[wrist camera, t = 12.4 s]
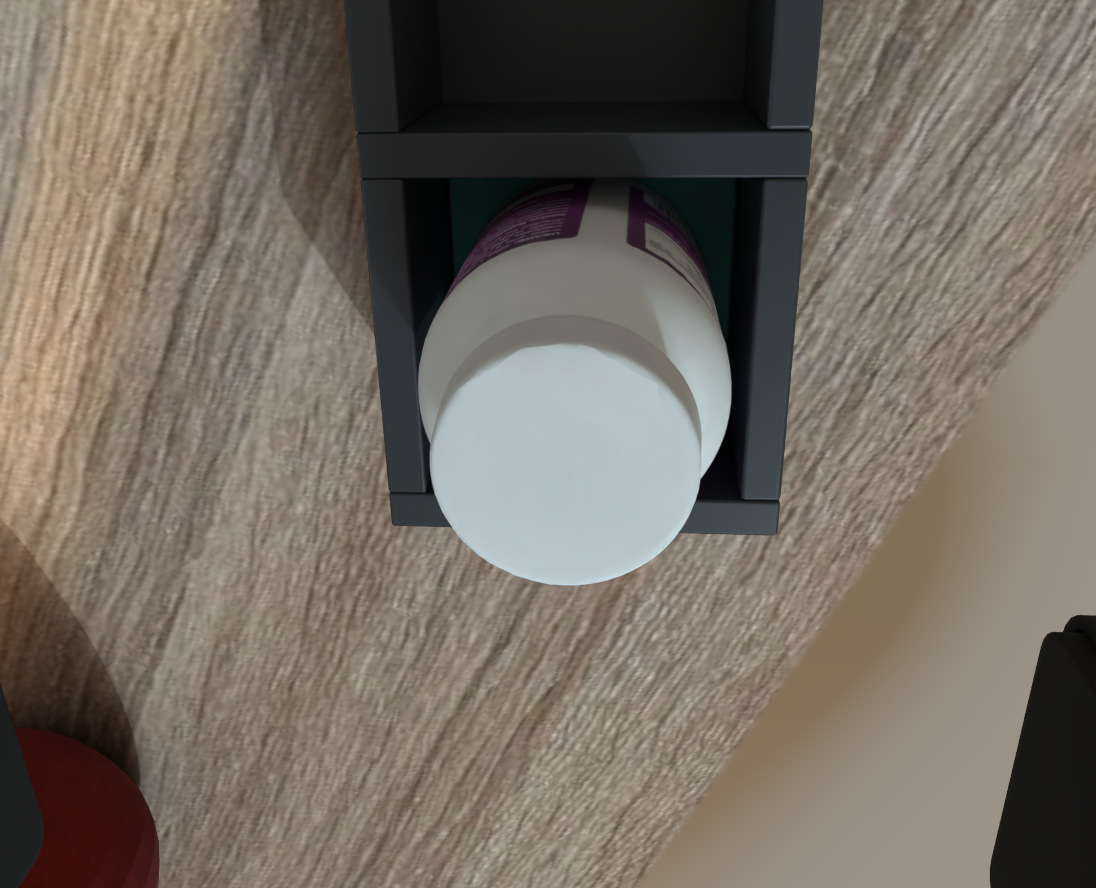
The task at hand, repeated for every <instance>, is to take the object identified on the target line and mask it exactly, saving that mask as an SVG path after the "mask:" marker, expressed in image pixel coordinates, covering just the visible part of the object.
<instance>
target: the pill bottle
mask: <svg viewBox="0 0 1096 888" xmlns="http://www.w3.org/2000/svg"><path fill="white" fill-rule="evenodd" d="M731 386H732V384H731V372H730V364H729V357H728V353H727V348H726V343H725V340H724V338H723V335H722V331H721V328H720V324H719V320H718V315H717V311H716V307H715V303H714V300H713V296H712V291H711V288H710V284H709V279H708V275H707V272H706V267H705V263H704V260H703V257H702V253H701V251H700V249H699V246H698V244H697V242H696V240H695V237H694V236H693V234H692V232H691V230H690V228H689V227H688V225H687V224H686V223H685V221H684V220H683V218H682V217H681V216H680V215H679V213H678V212H677V211H676V210H675V209H674V208H673V207H672V206H671V205H670V204H669V203H668V202H667V201H666V200H665V199H664V198H662V197H661V196H660V195H659V194H657V193H656V192H655V191H653V190H652V189H650V188H648V187H646V186H645V185H643V184H641V183H639V182H637V181H635V180H633V179H631V178H542V179H540V180H538V181H536V182H533V183H531V184H529V185H528V186H526V187H525V188H523V189H522V190H520V191H518V192H517V193H516V194H514V195H513V196H512V197H511V198H509V199H508V200H507V201H506V202H505V203H504V204H503V205H502V206H501V207H500V208H499V209H498V210H497V211H496V213H495V214H494V215H493V216H492V218H491V219H490V220H489V222H488V223H487V225H486V226H485V227H484V229H483V230H482V232H481V234H480V235H479V237H478V239H477V241H476V242H475V244H474V246H473V248H472V250H471V251H470V253H469V254H468V256H467V258H466V260H465V261H464V263H463V265H462V267H461V269H460V271H459V273H458V274H457V276H456V278H455V280H454V282H453V283H452V285H451V287H450V289H449V290H448V293H447V295H446V297H445V298H444V301H443V303H442V304H441V305H440V306H439V308H438V310H437V313H436V315H435V317H434V319H433V321H432V323H431V325H430V328H429V331H428V334H427V336H426V339H425V342H424V346H423V350H422V355H421V360H420V364H419V377H418V395H419V405H420V412H421V417H422V421H423V424H424V428H425V431H426V434H427V437H428V439H429V442H430V474H431V480H432V485H433V489H434V493H435V496H436V498H437V501H438V503H439V505H440V508H441V510H442V512H443V514H444V516H445V517H446V519H447V520H448V522H449V523H450V525H451V527H452V528H453V530H454V531H455V533H456V534H457V535H458V536H459V537H460V538H461V539H462V541H463V542H465V543H466V544H467V545H468V546H469V547H470V548H471V549H472V550H473V551H474V552H476V553H477V554H478V555H479V556H481V557H482V558H484V559H485V560H486V561H488V562H489V563H491V564H493V565H495V566H497V567H498V568H501V569H503V570H505V571H507V572H509V573H511V574H513V575H516V576H519V577H522V578H526V579H529V580H532V581H536V582H541V583H545V584H553V585H582V584H592V583H597V582H602V581H606V580H609V579H612V578H615V577H618V576H622V575H624V574H626V573H628V572H630V571H632V570H634V569H636V568H638V567H640V566H642V565H643V564H645V563H647V562H648V561H650V560H651V559H653V558H654V557H655V556H657V555H658V554H659V553H660V552H661V551H662V550H663V549H664V548H665V547H667V546H668V545H669V543H670V542H671V541H672V540H673V539H674V538H675V537H676V535H677V534H678V533H679V531H680V530H681V528H682V527H683V525H684V524H685V522H686V520H687V519H688V517H689V515H690V513H691V510H692V508H693V505H694V503H695V500H696V497H697V494H698V491H699V485H700V479H701V478H702V476H703V475H704V474H705V472H706V471H707V469H708V468H709V466H710V465H711V463H712V461H713V460H714V458H715V456H716V454H717V452H718V450H719V447H720V445H721V442H722V440H723V437H724V435H725V431H726V427H727V423H728V419H729V414H730V406H731Z"/></svg>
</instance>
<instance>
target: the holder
mask: <svg viewBox="0 0 1096 888" xmlns="http://www.w3.org/2000/svg"><path fill="white" fill-rule="evenodd" d="M823 1H824V0H344V7H345V18H346V29H347V40H348V51H349V62H350V73H351V84H352V95H353V106H354V116H355V127H356V131H357V132H358V134H357V136H356V138H357V149H358V160H359V171H360V177H361V178H363V179H362V180H361V191H362V202H363V213H364V224H365V234H366V245H367V256H368V267H369V278H370V289H371V300H372V311H373V322H374V333H375V344H376V355H377V365H378V376H379V387H380V398H381V409H382V420H383V431H384V442H385V453H386V464H387V475H388V486H389V490H390V491H391V492H390V494H389V497H390V507H391V518H392V524H393V525H394V526H426V527H451V525H450V523H449V522H448V520H447V519H446V517H445V516H444V514H443V512H442V510H441V508H440V505H439V503H438V501H437V498H436V496H435V493H434V489H433V485H432V480H431V474H430V442H429V439H428V437H427V434H426V431H425V428H424V424H423V421H422V417H421V412H420V405H419V395H418V377H419V364H420V360H421V355H422V350H423V346H424V342H425V339H426V336H427V334H428V331H429V328H430V325H431V323H432V321H433V319H434V317H435V315H436V313H437V310H438V308H439V306H440V305H441V304H442V303H443V301H444V298H445V297H446V295H447V293H448V290H449V289H450V287H451V285H452V283H453V282H454V280H455V278H456V276H457V274H458V273H459V271H460V269H461V267H462V265H463V263H464V261H465V260H466V258H467V256H468V254H469V253H470V251H471V250H472V248H473V246H474V244H475V242H476V241H477V239H478V237H479V235H480V234H481V232H482V230H483V229H484V227H485V226H486V225H487V223H488V222H489V220H490V219H491V218H492V216H493V215H494V214H495V213H496V211H497V210H498V209H499V208H500V207H501V206H502V205H503V204H504V203H505V202H506V201H507V200H508V199H509V198H511V197H512V196H513V195H514V194H516V193H517V192H518V191H520V190H522V189H523V188H525V187H526V186H528V185H529V184H531V183H533V182H536V181H538V180H540V179H542V178H631V179H633V180H635V181H637V182H639V183H641V184H643V185H645V186H646V187H648V188H650V189H652V190H653V191H655V192H656V193H657V194H659V195H660V196H661V197H662V198H664V199H665V200H666V201H667V202H668V203H669V204H670V205H671V206H672V207H673V208H674V209H675V210H676V211H677V212H678V213H679V215H680V216H681V217H682V218H683V220H684V221H685V223H686V224H687V225H688V227H689V228H690V230H691V232H692V234H693V236H694V237H695V240H696V242H697V244H698V246H699V249H700V251H701V253H702V257H703V260H704V263H705V267H706V272H707V275H708V279H709V284H710V288H711V291H712V296H713V300H714V303H715V307H716V311H717V315H718V320H719V324H720V328H721V331H722V335H723V338H724V340H725V343H726V348H727V353H728V357H729V364H730V372H731V384H732V386H731V406H730V414H729V419H728V423H727V427H726V431H725V435H724V437H723V440H722V442H721V445H720V447H719V450H718V452H717V454H716V456H715V458H714V460H713V461H712V463H711V465H710V466H709V468H708V469H707V471H706V472H705V474H704V475H703V476H702V478H701V479H700V485H699V491H698V494H697V497H696V500H695V503H694V505H693V508H692V510H691V513H690V515H689V517H688V519H687V520H686V522H685V524H684V525H683V527H682V528H681V530H680V531H679V533H699V534H738V535H776V534H777V532H778V520H779V509H780V502H779V498H780V495H781V484H782V472H783V461H784V450H785V438H786V427H787V415H788V404H789V392H790V381H791V369H792V358H793V346H794V335H795V323H796V312H797V300H798V289H799V277H800V266H801V254H802V243H803V232H804V220H805V209H806V197H807V186H808V182H807V179H806V177H808V175H809V166H810V155H811V143H812V131H811V130H810V128H811V127H812V124H813V116H814V104H815V93H816V81H817V70H818V58H819V47H820V35H821V24H822V12H823Z"/></svg>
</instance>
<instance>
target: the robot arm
mask: <svg viewBox="0 0 1096 888" xmlns="http://www.w3.org/2000/svg"><path fill="white" fill-rule="evenodd" d="M43 834H44V824H43V819H42V815H41V812H40V809H39V805H38V802H37V799H36V796H35V793H34V789H33V786H32V783H31V780H30V777H29V774H28V770H27V767H26V764H25V761H24V758H23V754H22V751H21V748H20V745H19V742H18V738H17V735H16V732H15V729H14V726H13V722H12V719H11V716H10V713H9V710H8V707H7V703H6V700H5V697H4V694H3V691H2V687H1V684H0V888H19V886H20V885H21V883H22V882H23V880H24V879H25V877H26V875H27V874H28V872H29V871H30V869H31V868H32V866H33V865H34V863H35V861H36V859H37V857H38V855H39V852H40V849H41V846H42V841H43ZM990 886H991V888H1096V616H1088V615H1087V616H1086V615H1077V616H1074V617H1072V618H1071V619H1070V620H1069V621H1068V622H1067V624H1066V625H1065V628H1064V631H1063V632H1051V633H1049V634H1047V635H1046V637H1045V638H1044V640H1043V643H1042V646H1041V649H1040V653H1039V657H1038V662H1037V666H1036V670H1035V675H1034V679H1033V683H1032V687H1031V692H1030V696H1029V700H1028V705H1027V709H1026V713H1025V717H1024V722H1023V726H1022V730H1021V735H1020V739H1019V743H1018V748H1017V752H1016V756H1015V760H1014V765H1013V769H1012V773H1011V778H1010V782H1009V786H1008V791H1007V795H1006V799H1005V804H1004V808H1003V812H1002V816H1001V820H1000V825H999V829H998V833H997V837H996V842H995V846H994V850H993V855H992V859H991V865H990Z"/></svg>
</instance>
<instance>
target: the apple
mask: <svg viewBox="0 0 1096 888" xmlns="http://www.w3.org/2000/svg"><path fill="white" fill-rule="evenodd" d="M14 729H15V732H16V735H17V738H18V742H19V745H20V748H21V751H22V754H23V758H24V761H25V764H26V767H27V770H28V774H29V777H30V780H31V783H32V786H33V789H34V793H35V796H36V799H37V802H38V805H39V809H40V812H41V815H42V819H43V824H44V834H43V841H42V846H41V849H40V852H39V855H38V857H37V859H36V861H35V863H34V865H33V866H32V868H31V869H30V871H29V872H28V874H27V875H26V877H25V879H24V880H23V882H22V883H21V885H20V886H19V888H158V881H159V840H158V836H157V832H156V827H155V823H154V820H153V817H152V814H151V812H150V809H149V807H148V805H147V803H146V801H145V799H144V797H143V795H142V793H141V791H140V790H139V789H138V787H137V786H136V785H135V784H134V782H133V781H132V780H131V779H130V777H129V776H128V775H127V774H126V773H125V772H124V771H122V770H121V769H120V768H119V767H118V766H117V765H116V764H115V763H114V762H113V761H111V760H110V759H108V758H107V757H105V756H104V755H102V754H101V753H99V752H98V751H96V750H95V749H93V748H91V747H89V746H87V745H85V744H83V743H81V742H79V741H77V740H75V739H72V738H69V737H66V736H63V735H60V734H57V733H55V732H50V731H45V730H40V729H35V728H18V727H14Z"/></svg>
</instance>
